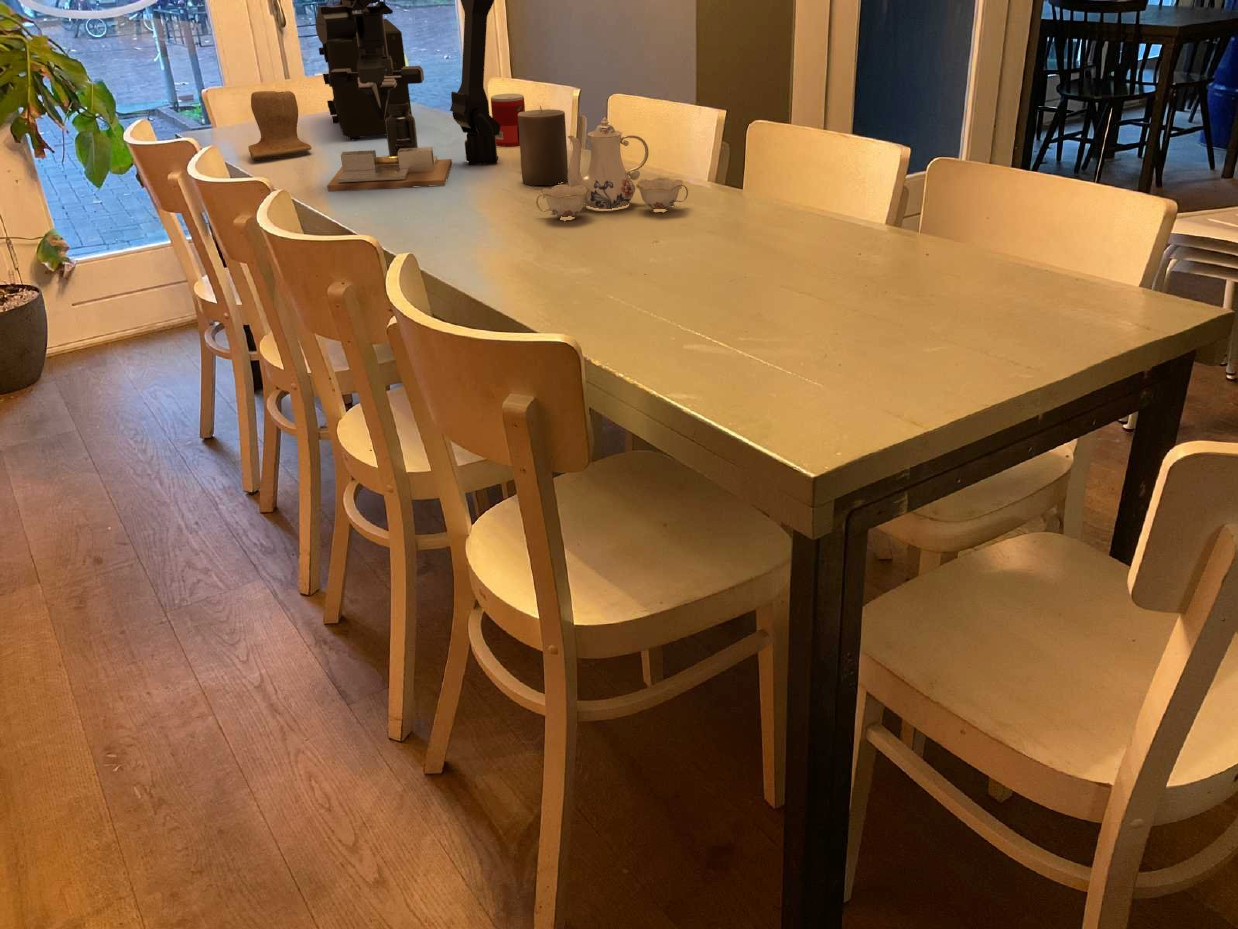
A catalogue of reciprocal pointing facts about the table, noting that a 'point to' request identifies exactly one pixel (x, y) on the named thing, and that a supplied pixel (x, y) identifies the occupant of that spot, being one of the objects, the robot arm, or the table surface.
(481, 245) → the table surface
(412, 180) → the board
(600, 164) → the chinaware
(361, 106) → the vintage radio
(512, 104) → the canned food
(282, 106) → the brown chair-shaped stand
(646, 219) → the table surface
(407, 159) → the fixed leaf
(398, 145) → the supplement bottle
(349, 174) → the loose leaf
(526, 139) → the pillar candle
